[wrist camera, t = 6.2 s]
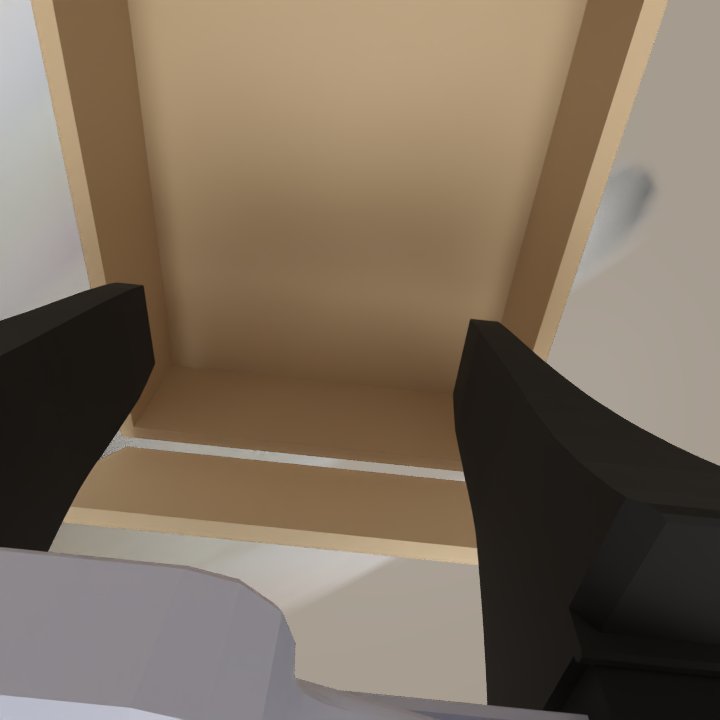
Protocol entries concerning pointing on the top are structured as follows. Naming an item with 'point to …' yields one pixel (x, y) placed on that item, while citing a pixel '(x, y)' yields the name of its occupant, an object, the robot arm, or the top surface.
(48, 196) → the top surface
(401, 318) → the carton
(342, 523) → the flap
